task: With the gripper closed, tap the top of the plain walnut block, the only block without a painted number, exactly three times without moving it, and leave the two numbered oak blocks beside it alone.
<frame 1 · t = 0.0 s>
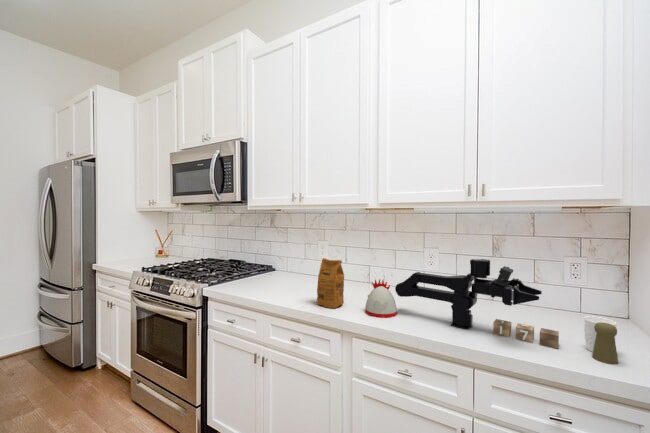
hand: (540, 295, 106), 17 cm above the worktop, tool horizontal, fingers open, 9 cm apart
block seven: (524, 339, 109), on the worktop
cork: (604, 360, 95), on the worktop
block one: (502, 334, 114), on the worktop
coffee package: (330, 305, 147), on the worktop
plain block: (549, 344, 105), on the worktop
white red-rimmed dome: (380, 313, 137), on the worktop
white cup: (599, 351, 101), on the worktop
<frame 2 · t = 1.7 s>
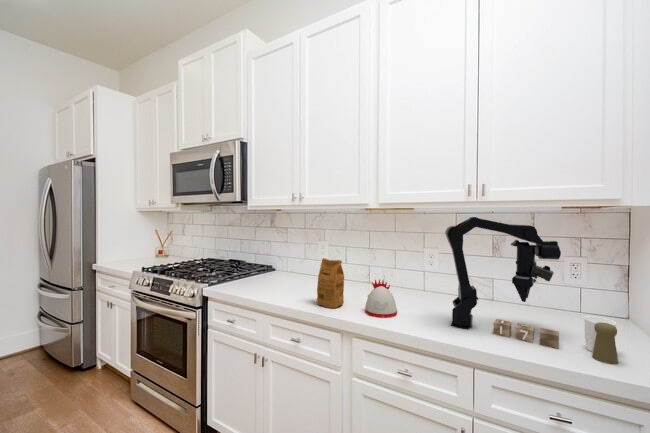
hand: (524, 299, 116), 12 cm above the worktop, tool pointing down, fingers open, 6 cm apart
nothing on the worktop moved.
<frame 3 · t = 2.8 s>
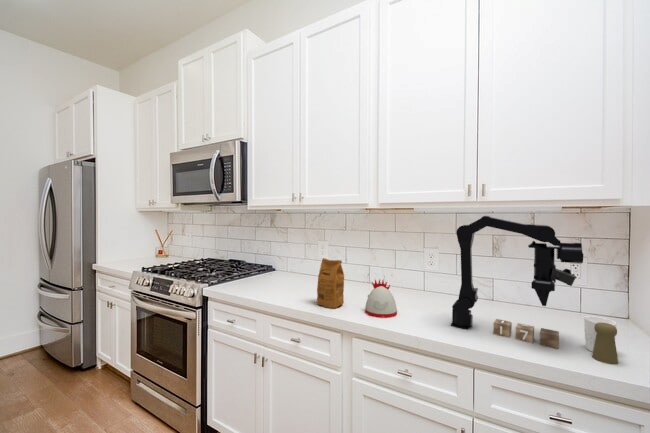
hand: (544, 305, 108), 12 cm above the worktop, tool pointing down, fingers closed
nothing on the worktop moved.
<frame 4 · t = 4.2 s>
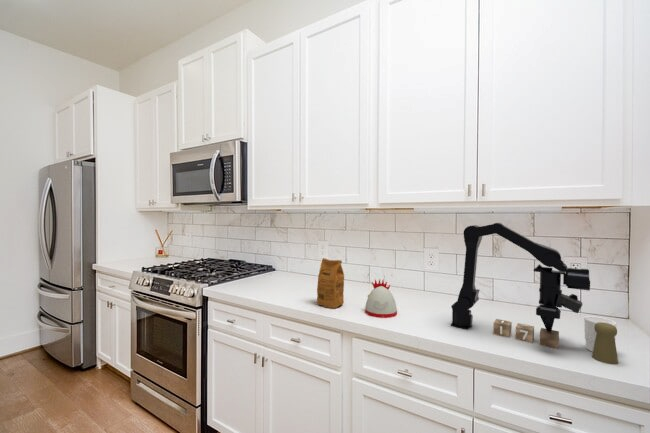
hand: (549, 331, 105), 4 cm above the worktop, tool pointing down, fingers closed, pressing on plain block
plain block: (549, 344, 105), on the worktop, touching gripper
everything else where it was.
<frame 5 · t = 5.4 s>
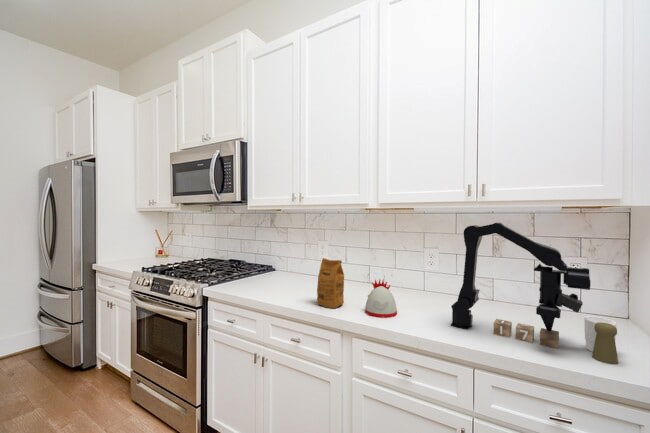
hand: (549, 330, 105), 5 cm above the worktop, tool pointing down, fingers closed
plain block: (549, 344, 105), on the worktop
everything else where it was.
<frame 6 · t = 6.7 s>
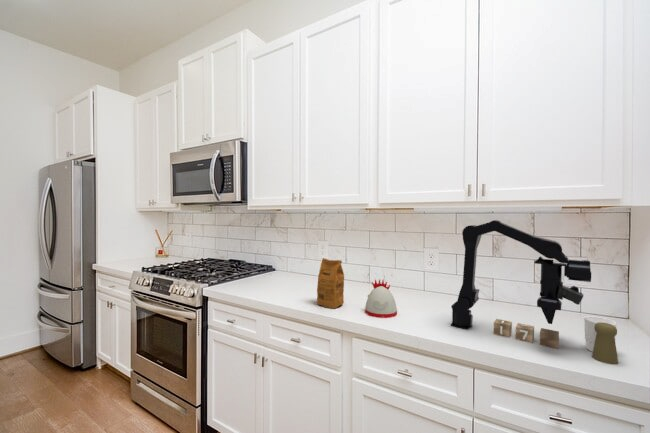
hand: (550, 323, 105), 7 cm above the worktop, tool pointing down, fingers closed
nothing on the worktop moved.
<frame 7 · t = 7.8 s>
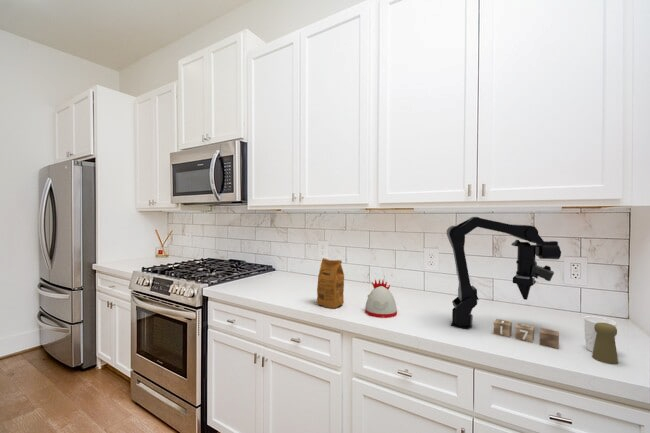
hand: (525, 299, 117), 12 cm above the worktop, tool pointing down, fingers closed
nothing on the worktop moved.
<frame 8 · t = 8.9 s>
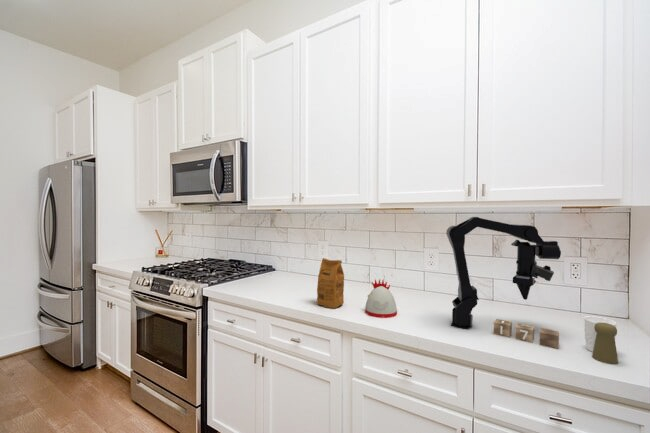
hand: (525, 299, 117), 12 cm above the worktop, tool pointing down, fingers closed
nothing on the worktop moved.
at the end: plain block moved 0.2 cm from its start; plain block tilted 0°; block seven moved 0.3 cm from its start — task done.
